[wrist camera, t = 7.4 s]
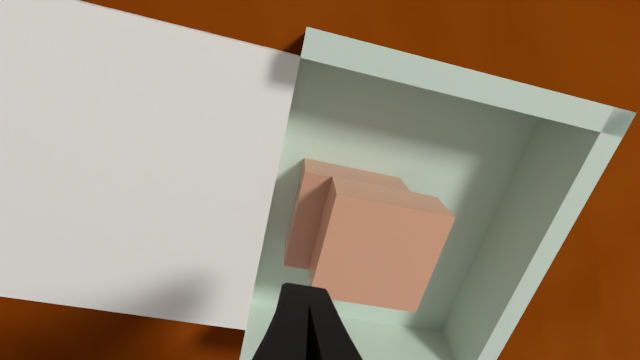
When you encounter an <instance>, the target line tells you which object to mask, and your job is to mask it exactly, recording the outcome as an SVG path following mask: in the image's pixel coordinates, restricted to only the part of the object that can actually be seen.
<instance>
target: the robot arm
mask: <svg viewBox="0 0 640 360" xmlns="http://www.w3.org/2000/svg"><path fill="white" fill-rule="evenodd" d="M252 360H363V359H362V357H361V356H360V354H359V352H358V350H357V349H356V347H355V345H354V343H353V341H352V340H351V338H350V336H349V334H348V332H347V330H346V328H345V327H344V325H343V323H342V321H341V319H340V317H339V315H338V312H337V310H336V308H335V306H334V304H333V302H332V300H331V297H330V295H329V293H328V291H327V290H326V289H325V288H319V287H312V286H306V285H300V284H293V283H287V282H286V283H284V284H283V285H282V287H281V291H280V295H279V299H278V303H277V308H276V311H275V314H274V316H273V318H272V321H271V323H270V325H269V327H268V329H267V332H266V334H265V336H264V338H263V340H262V341H261V343H260V345H259V347H258V349H257V351H256V352H255V354H254V356H253V358H252Z"/></svg>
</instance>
